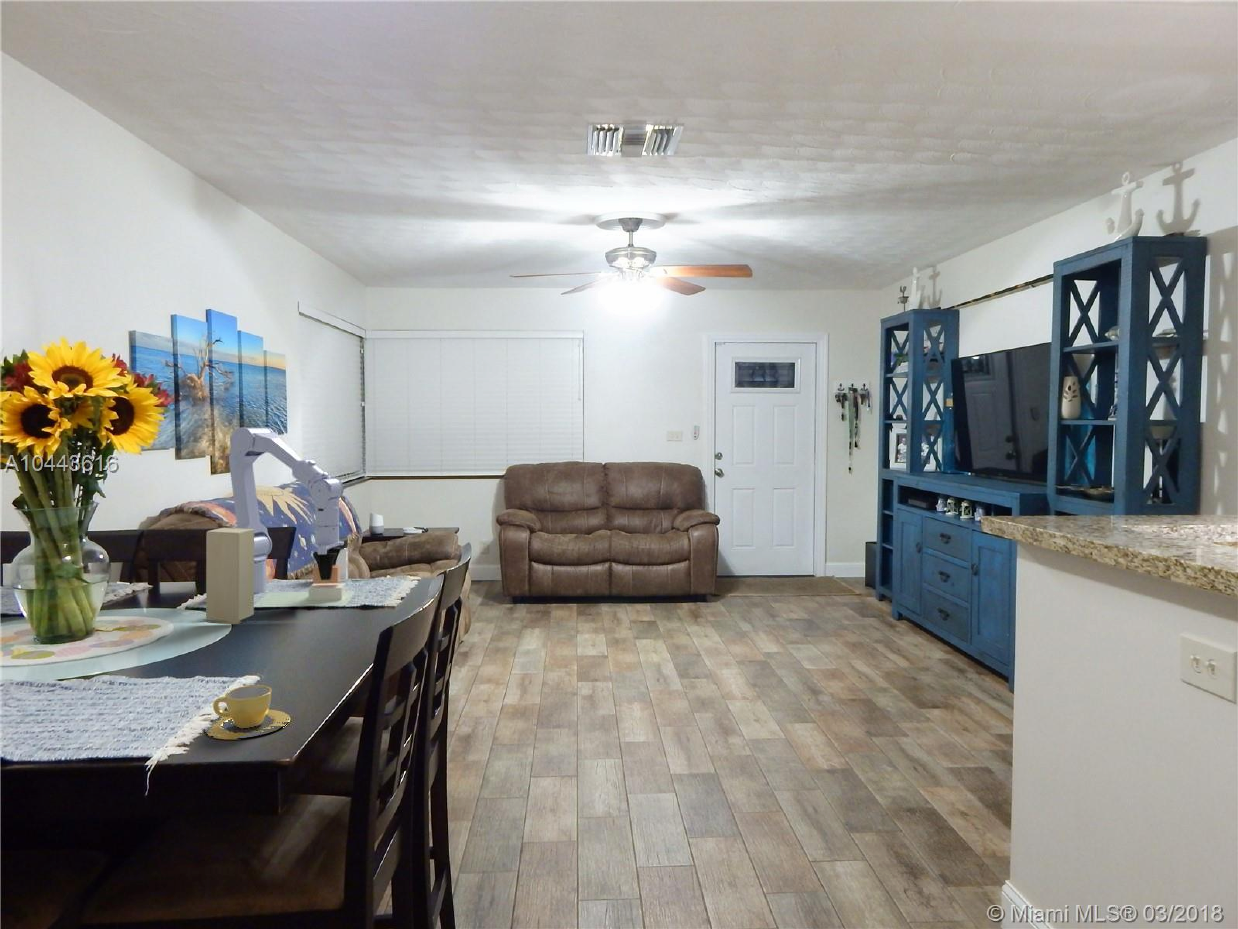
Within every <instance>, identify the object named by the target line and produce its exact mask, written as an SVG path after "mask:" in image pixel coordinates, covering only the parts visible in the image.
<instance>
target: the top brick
mask: <svg viewBox="0 0 1238 929" xmlns="http://www.w3.org/2000/svg"><path fill="white" fill-rule="evenodd" d="M339 581H340V565H333V566H332V573H331V578H330V580H321V577H320V573H319V568H318V565H317V564H316V565H314V566H313V568H312V585H313V584H326V583H340V582H339Z"/></svg>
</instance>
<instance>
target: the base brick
mask: <svg viewBox="0 0 1238 929" xmlns="http://www.w3.org/2000/svg"><path fill="white" fill-rule="evenodd" d="M345 591H346V583H345V582H338V583H326V584H313V583H312V584H311V585H310V586H309V587H308V592H309V600H342V599H343V597H344V596H345Z"/></svg>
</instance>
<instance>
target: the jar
mask: <svg viewBox="0 0 1238 929" xmlns="http://www.w3.org/2000/svg"><path fill="white" fill-rule="evenodd" d="M339 541H340V542H344V544H343V545H339V546H336V547H340V548H341V551H340V553H339V555H338V557H337V561H336V565H340V580H346V581H347V580H348V579H349V550H348V549H349V547H348V544H349V542H348V538H347V537H343V536H342V537H341V536H339ZM316 552H318V549H317V550H316ZM338 583H345V581H339V582H338Z"/></svg>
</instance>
